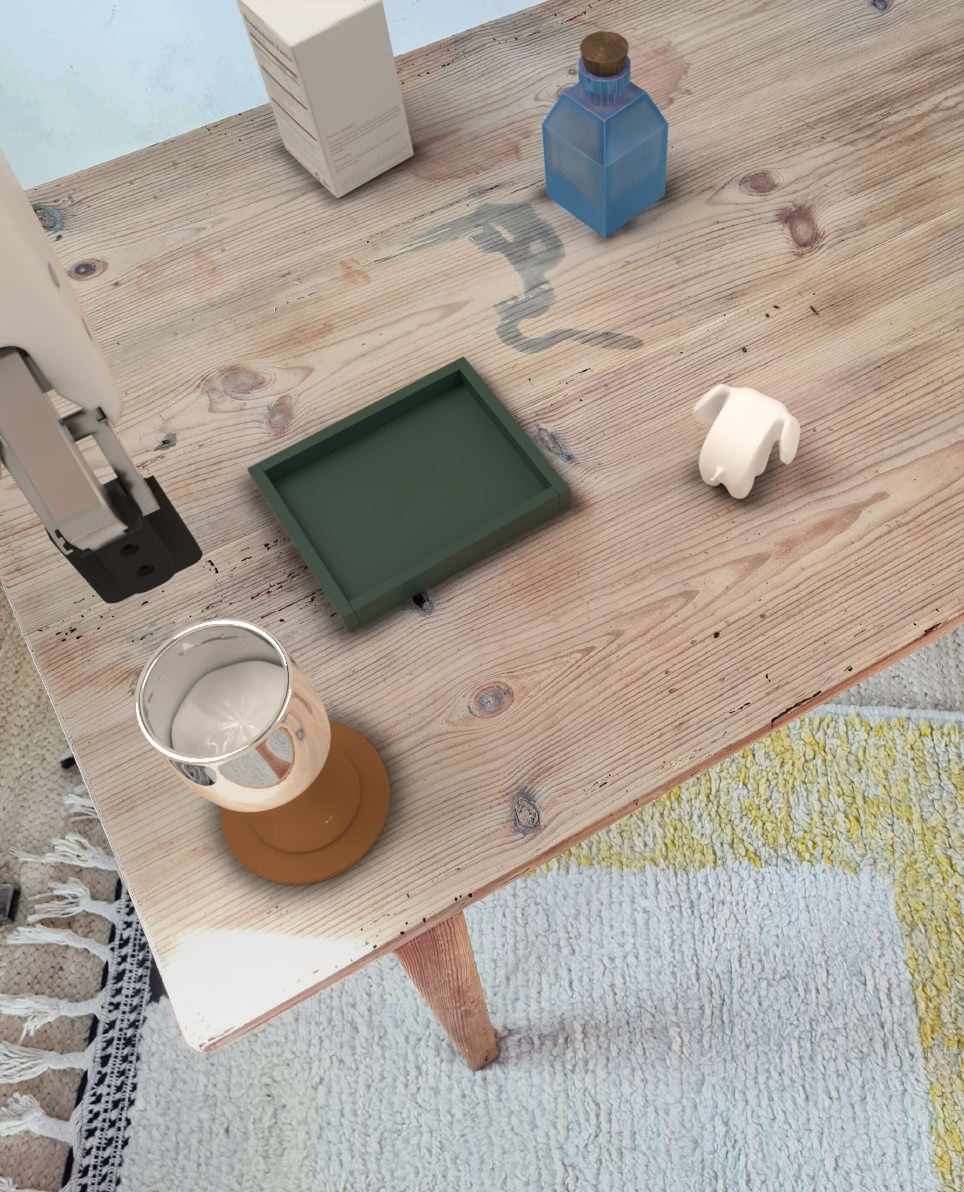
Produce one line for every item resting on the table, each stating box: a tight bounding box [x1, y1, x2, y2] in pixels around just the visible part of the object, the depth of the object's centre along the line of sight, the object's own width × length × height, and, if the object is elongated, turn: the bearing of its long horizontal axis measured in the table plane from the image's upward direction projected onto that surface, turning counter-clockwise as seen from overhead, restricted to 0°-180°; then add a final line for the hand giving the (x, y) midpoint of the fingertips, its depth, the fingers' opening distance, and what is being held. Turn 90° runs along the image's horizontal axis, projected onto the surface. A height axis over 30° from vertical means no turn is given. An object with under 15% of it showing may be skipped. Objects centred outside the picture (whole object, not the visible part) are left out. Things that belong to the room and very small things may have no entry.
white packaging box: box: [236, 0, 415, 199], centre depth 77 cm, size 7×7×13 cm
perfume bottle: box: [541, 30, 669, 239], centre depth 74 cm, size 6×6×12 cm
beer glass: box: [133, 617, 361, 853], centre depth 51 cm, size 7×7×15 cm
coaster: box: [220, 721, 391, 886], centre depth 58 cm, size 9×9×1 cm
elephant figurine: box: [691, 383, 801, 500], centre depth 66 cm, size 7×8×6 cm
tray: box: [246, 355, 572, 634], centre depth 67 cm, size 16×13×2 cm
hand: (98, 467), depth 36 cm, fingers open, 9 cm apart
